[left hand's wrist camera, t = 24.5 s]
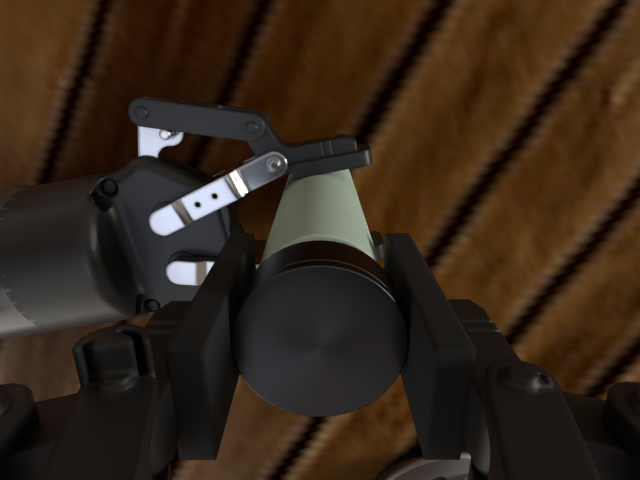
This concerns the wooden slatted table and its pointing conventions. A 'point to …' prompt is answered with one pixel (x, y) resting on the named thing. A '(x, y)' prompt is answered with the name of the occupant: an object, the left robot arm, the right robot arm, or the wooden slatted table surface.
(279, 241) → the pale green cylinder
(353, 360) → the lid
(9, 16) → the wooden slatted table surface
